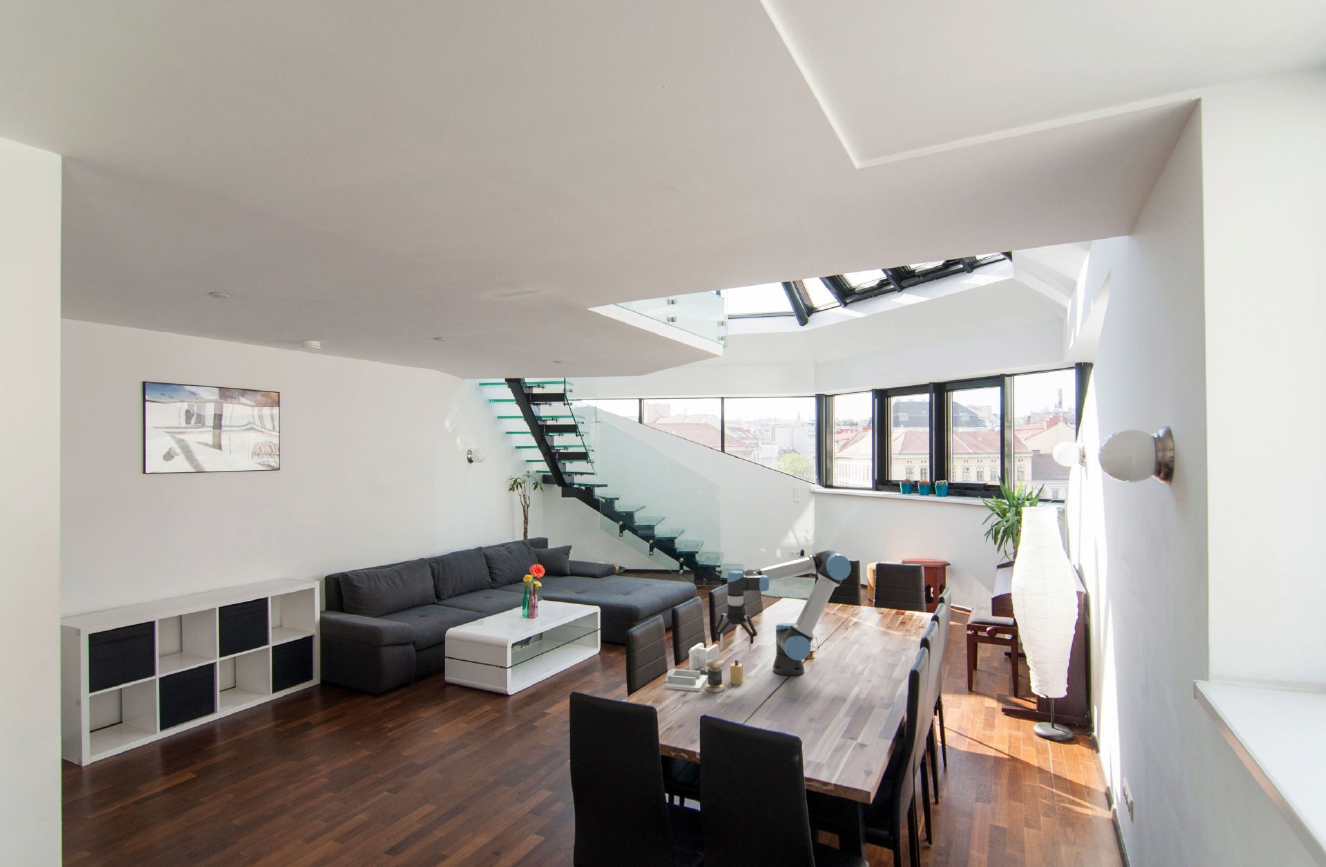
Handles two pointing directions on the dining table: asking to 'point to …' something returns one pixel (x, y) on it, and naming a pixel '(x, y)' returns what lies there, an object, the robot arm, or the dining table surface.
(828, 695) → the dining table surface
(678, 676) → the grey square tray
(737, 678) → the yellow bottle
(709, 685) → the bobbin
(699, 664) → the cable organizer
